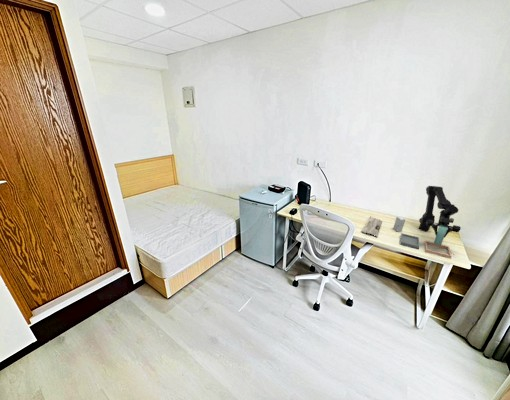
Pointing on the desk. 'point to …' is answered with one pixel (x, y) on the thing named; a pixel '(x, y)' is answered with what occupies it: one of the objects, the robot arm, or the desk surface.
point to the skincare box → (399, 224)
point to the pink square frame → (438, 252)
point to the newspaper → (372, 226)
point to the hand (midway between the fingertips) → (440, 236)
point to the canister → (440, 234)
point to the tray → (409, 241)
